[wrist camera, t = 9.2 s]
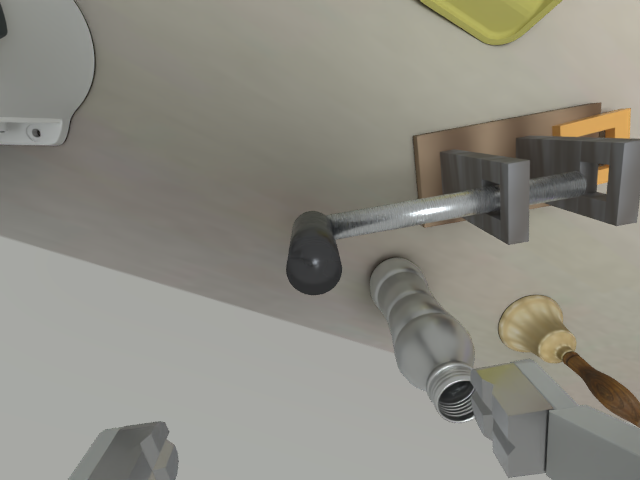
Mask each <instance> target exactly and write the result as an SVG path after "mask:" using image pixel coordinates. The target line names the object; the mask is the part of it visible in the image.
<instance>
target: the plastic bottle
mask: <svg viewBox="0 0 640 480" xmlns="http://www.w3.org/2000/svg"><path fill="white" fill-rule="evenodd" d="M370 294H371V297H372V299H373V301H374V303H375V304H376V306H377V307H378V309H379V310H380V311H381V312H382V313H383V315H384V317H385V318H386V320H387V322H388V325H389V328H390V332H391V335H392V340H393V347H394V353H395V357H396V361H397V365H398V368H399V370H400V372H401V373H402V374H403V376H404V377H405V378H406V379H407V380H408V381H409V382H410V383H411V384H412V385H413V386H415V387H416V388H419V389H421V390H423V391H426V392H427V394H428V396H429V398H430V400H431V401H432V402H433V404H434V406H435V408H436V410H437V412H438V413H439V415H440V416H441V417H442V418H444V419H445V420H447V421H449V422H454V423H463V422H467V421H470V420H472V419H474V418H475V416H474V412H473V408H472V400H471V395H472V394H473V393H474V391H475V388H474V387H473V385H472V383H471V379H470V373H471V370H472V369H474V368H473V366H474V360H475V351H474V346H473V343H472V339H471V337H470V335H469V333H468V331H467V330H466V329H465V328H464V327H463V326H462V324H461V323H460V322H459V321H457V320H456V319H455V318H454V317H453V316H452V315H450V314H449V313H448V312H447V311H446V310H445V309H444V308H443V307H442V306H441V305H440V304H439V303H438V302H437V301H436V299H435V298H434V297H433V295H432V293H431V291H430V290H429V288H428V284H427V281H426V279H425V276H424V274H423V272H422V271H421V270H420V268H419V267H418V266H416V265H415V264H414V263H412V262H411V261H409V260H407V259H403V258H391V259H388V260H385V261H384V262H382V263H381V264H379V265H378V266H377V267H376V268H375V270H374V271H373V273H372V276H371V279H370Z"/></svg>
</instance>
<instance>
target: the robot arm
mask: <svg viewBox="0 0 640 480" xmlns="http://www.w3.org/2000/svg"><path fill="white" fill-rule="evenodd" d="M93 74H94V49H93V43H92V39H91V35H90V32H89V29H88V26H87V24H86V21H85V19H84V17H83V15H82V13H81V11H80V10H79V8H78V6H77V5H76V3H75V2H74V0H0V145H37V146H58V145H61V144H62V143H63V142H64V141H65V139H66V137H67V133H68V129H69V124H70V119H71V117H72V115H73V113H74V112H75V111H76V109H77V108H78V107H79V106H80V104H81V103H82V102H83V100H84V99H85V97H86V95H87V93H88V91H89V89H90V86H91V83H92V79H93ZM37 130H39V131H40V133H41V136H39V135H38V134H37ZM470 379H471V383H472V385H473V387H474V388H475V391H474V393H473V394H472V395H471V400H472V408H473V412H474V416H475V419H476V421H477V423H478V426H479V428H480V430H481V431H482V433H483V435H484V436H485V437H487V438H489V439H490V440H492V441H493V452H494V454H495V456H496V458H497V459H498V461H499V463H500V464H501V466H502V468H503V469H504V471H505V473H506V475H507V476H508V478H510V477H517V476H525V475H532V474H541V473H546V475H547V476H548V477H549V478H551V479H552V480H640V429H639V428H637V427H635V426H633V425H630V424H628V423H626V422H624V421H621V420H619V419H617V418H615V417H612V416H610V415H608V414H606V413H603V412H601V411H599V410H597V409H594V408H592V407H590V406H588V405H580V406H579V405H578V404H577V403H576V402H575V401H574V400H573V399H572V398H571V397H570V396H569V395H568V394H567V393H566V392H565V391H564V390H563V389H562V388H561V387H560V386H559V385H558V384H557V383H556V382H555V381H554V380H553V379H552V378H551V377H550V376H549V375H548V374H547V373H546V372H545V371H544V370H543V369H542V368H541V367H540V366H539V365H538V364H537V363H536V362H535V361H534V360H532V359H525V360H520V361H514V362H510V363H505V364H499V365H493V366H488V367H482V368H476V369H472V370H471V373H470ZM168 434H169V430H168V428H167V426H166V424H165V422H161V421H160V422H153V423H144V424H137V425H130V426H124V427H119V428H112V429H106V430H104V431H103V432H101V433H100V434H99V435H98V437H97V438H96V440H95V441H94V442H93V444H92V445H91V447H90V448H89V450H88V451H87V453H86V454H85V456H84V457H83V458H82V460H81V461H80V463H79V464H78V466H77V467H76V469H75V470H74V472H73V473H72V474H71V476H70V477H69V479H68V480H175V479H176V476H177V470H178V462H179V461H178V453H177V450H176V447H175V445H174V444H173V443H171V442H170V441H168V440H167V436H168Z"/></svg>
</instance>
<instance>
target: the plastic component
mask: <svg viewBox="0 0 640 480" xmlns="http://www.w3.org/2000/svg"><path fill="white" fill-rule="evenodd" d="M420 1H421V2H422V3H423V4H425V5H427V6H428V7H430V8H431V9H433V10H434V11H436V12H437V13H439V14H440V15H442V16H443V17H445V18H447V19H448V20H450V21H451V22H453V23H454V24H456V25H457V26H459V27H460V28H462V29H464V30H465V31H467V32H468V33H470V34H471V35H473V36H474V37H476V38H477V39H479V40H481V41H482V42H484V43H486V44H490V45H501V44H507V43H509V42H512V41H514V40H516V39H518V38H520V37H521V36H522V35H523V34H525V33H526V32H527V31H528V30H529V29H530V28H531V27H533V26H534V25H535V24H536V23H537V22H538V21H539V20H541V19H542V18H543V17H544V16H545V15H546V14H547V13H549V12H550V11H551V10H552V9H553V8H554V7H555V6H557V5H558V4H559V3H560V2H561V1H562V0H420Z"/></svg>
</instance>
